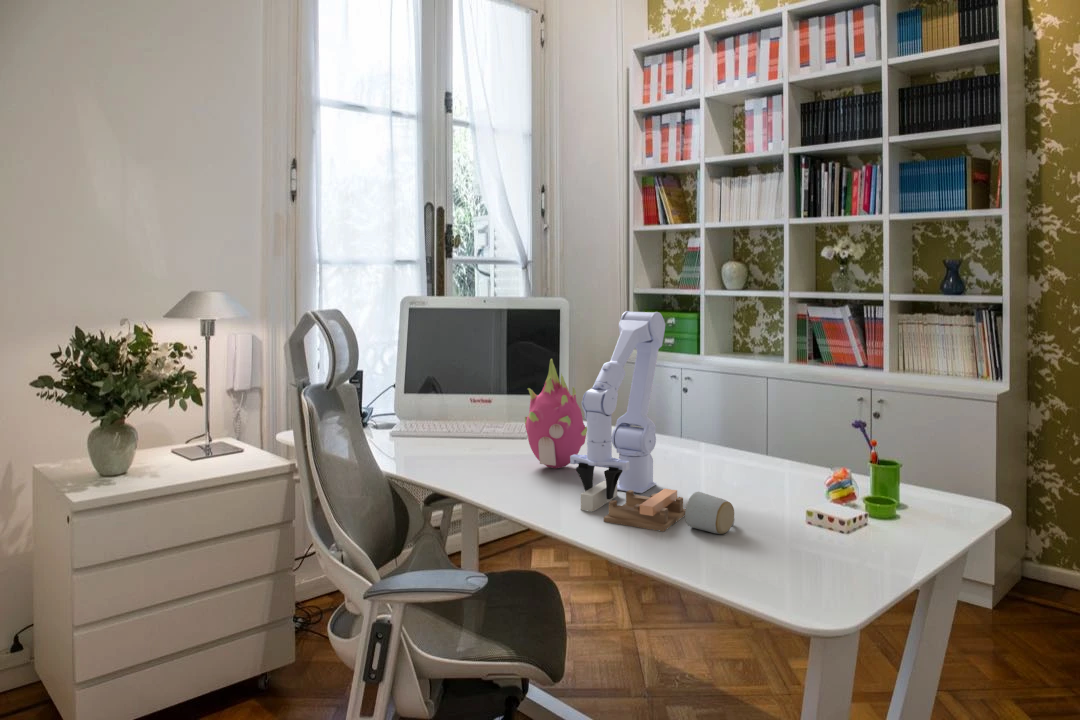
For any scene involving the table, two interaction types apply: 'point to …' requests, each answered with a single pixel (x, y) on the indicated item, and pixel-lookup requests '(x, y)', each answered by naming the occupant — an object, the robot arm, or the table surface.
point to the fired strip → (658, 502)
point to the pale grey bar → (595, 497)
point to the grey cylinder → (709, 513)
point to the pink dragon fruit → (555, 422)
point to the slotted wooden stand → (632, 516)
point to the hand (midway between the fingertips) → (599, 496)
